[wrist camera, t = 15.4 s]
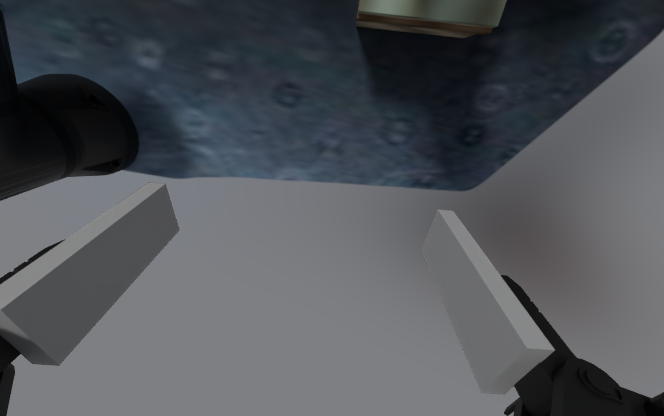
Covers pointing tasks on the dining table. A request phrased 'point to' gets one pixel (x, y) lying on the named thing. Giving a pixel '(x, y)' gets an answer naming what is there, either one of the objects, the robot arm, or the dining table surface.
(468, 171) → the dining table surface
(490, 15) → the step block
